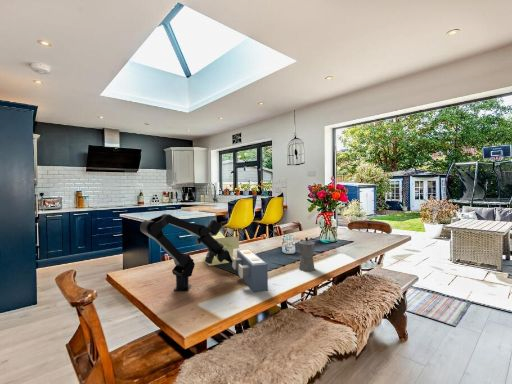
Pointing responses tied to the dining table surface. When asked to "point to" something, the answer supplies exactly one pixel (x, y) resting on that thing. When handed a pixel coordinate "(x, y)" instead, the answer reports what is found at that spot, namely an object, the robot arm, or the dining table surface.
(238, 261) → the button far
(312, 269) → the coffeepot
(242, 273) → the button near
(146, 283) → the dining table surface
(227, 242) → the slatted curved stool
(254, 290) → the switch box
